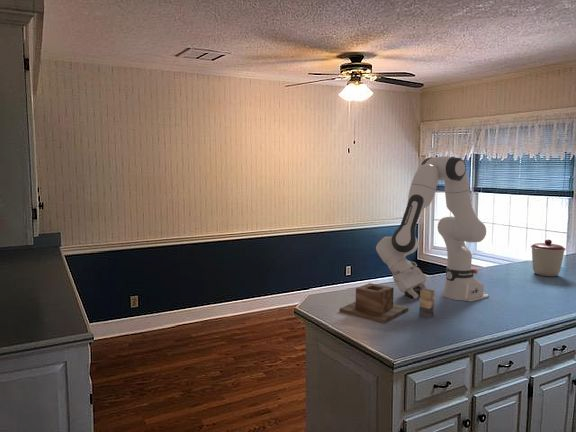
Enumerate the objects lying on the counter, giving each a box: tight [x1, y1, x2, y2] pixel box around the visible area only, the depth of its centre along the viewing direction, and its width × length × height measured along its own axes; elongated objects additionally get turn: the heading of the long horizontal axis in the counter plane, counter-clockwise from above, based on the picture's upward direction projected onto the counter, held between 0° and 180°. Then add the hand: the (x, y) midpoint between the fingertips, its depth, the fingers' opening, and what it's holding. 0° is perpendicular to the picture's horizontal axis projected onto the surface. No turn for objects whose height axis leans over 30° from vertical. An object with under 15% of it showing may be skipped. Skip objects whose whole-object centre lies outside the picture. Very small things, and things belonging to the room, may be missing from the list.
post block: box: [339, 282, 409, 324], centre depth 204 cm, size 22×22×10 cm
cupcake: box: [403, 286, 422, 299], centre depth 228 cm, size 10×10×10 cm
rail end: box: [418, 288, 435, 319], centre depth 199 cm, size 4×4×11 cm
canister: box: [530, 239, 566, 277], centre depth 273 cm, size 18×18×21 cm
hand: (422, 295), depth 200 cm, fingers open, 8 cm apart
